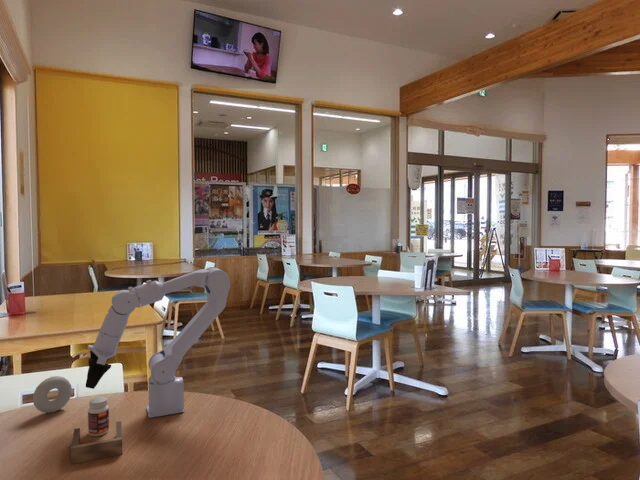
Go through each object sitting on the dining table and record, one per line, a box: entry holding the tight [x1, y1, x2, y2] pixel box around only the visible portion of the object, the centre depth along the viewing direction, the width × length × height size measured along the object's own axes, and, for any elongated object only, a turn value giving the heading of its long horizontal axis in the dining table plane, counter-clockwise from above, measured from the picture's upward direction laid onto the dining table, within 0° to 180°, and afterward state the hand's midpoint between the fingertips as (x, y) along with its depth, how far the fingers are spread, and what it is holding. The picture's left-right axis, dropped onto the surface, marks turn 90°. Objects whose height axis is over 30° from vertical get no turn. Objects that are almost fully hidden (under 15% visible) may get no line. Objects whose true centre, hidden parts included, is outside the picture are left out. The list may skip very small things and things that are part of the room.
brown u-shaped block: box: [70, 420, 123, 465], centre depth 107 cm, size 10×10×4 cm
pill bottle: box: [87, 396, 110, 437], centre depth 115 cm, size 5×5×8 cm
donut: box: [32, 375, 73, 414], centre depth 128 cm, size 10×4×10 cm, turn 143°
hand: (90, 382), depth 120 cm, fingers open, 7 cm apart
